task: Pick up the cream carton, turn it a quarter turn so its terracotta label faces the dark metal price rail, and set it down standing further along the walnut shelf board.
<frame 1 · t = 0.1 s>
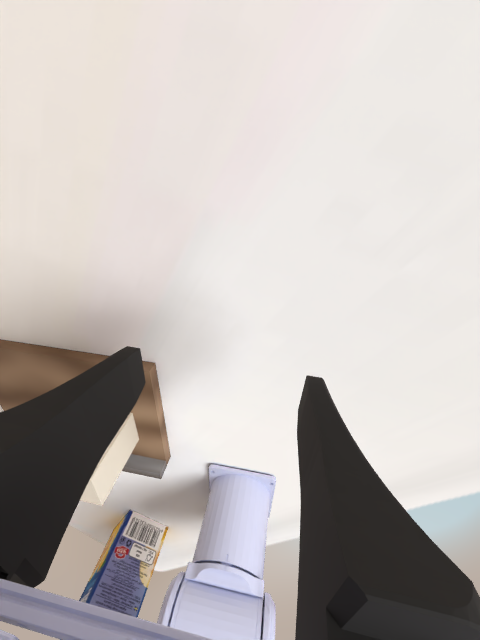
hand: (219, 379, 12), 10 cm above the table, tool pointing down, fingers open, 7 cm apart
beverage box: (140, 527, 48), on the table
shelf board: (80, 401, 32), on the table
carton: (117, 423, 31), point 1 cm above the table, touching shelf board
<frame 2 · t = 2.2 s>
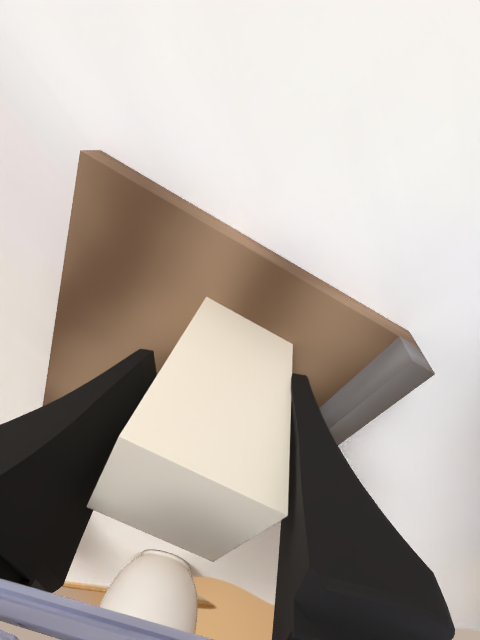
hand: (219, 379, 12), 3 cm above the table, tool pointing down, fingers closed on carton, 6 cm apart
lidded jar: (166, 559, 34), on the table
shelf board: (182, 386, 17), on the table
carton: (228, 353, 13), point 1 cm above the table, touching gripper, shelf board
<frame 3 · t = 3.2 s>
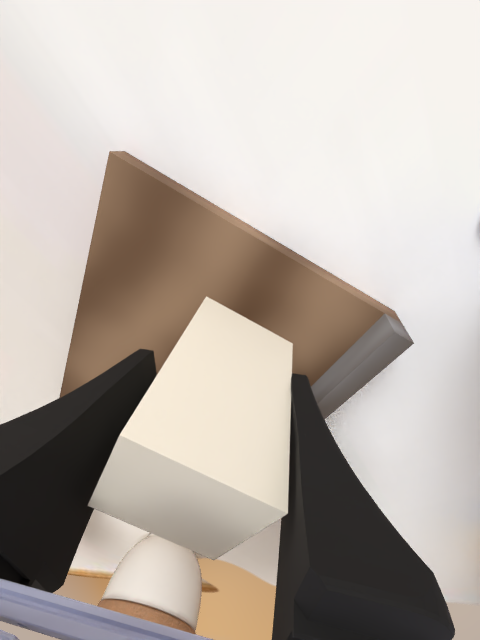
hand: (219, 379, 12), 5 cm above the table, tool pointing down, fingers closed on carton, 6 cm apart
lidded jar: (171, 541, 35), on the table
shelf board: (191, 366, 19), on the table
carton: (228, 352, 14), point 3 cm above the table, touching gripper
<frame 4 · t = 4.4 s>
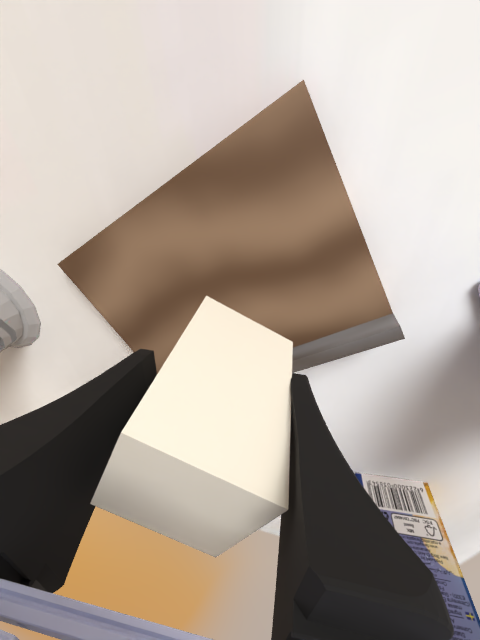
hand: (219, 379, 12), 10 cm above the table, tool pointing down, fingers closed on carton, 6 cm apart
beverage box: (379, 502, 32), on the table
shelf board: (220, 285, 21), on the table
carton: (229, 351, 14), point 8 cm above the table, touching gripper
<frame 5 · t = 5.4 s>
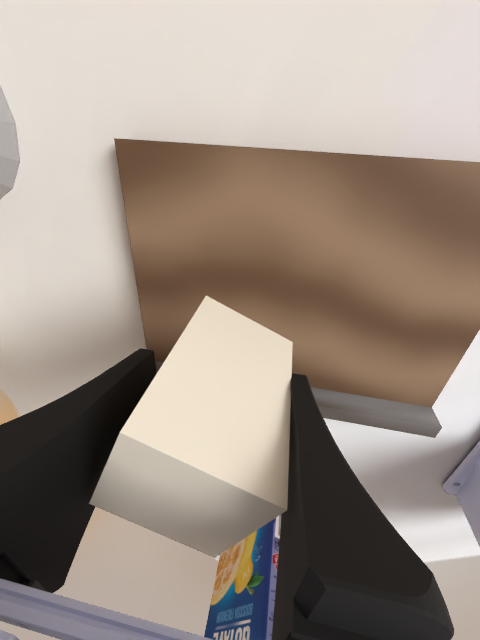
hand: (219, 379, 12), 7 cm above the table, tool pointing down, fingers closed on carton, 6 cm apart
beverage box: (271, 524, 34), on the table
shelf board: (296, 292, 17), on the table
carton: (229, 351, 14), point 6 cm above the table, touching gripper
when the fingers open (4 cm above the table, at t = 6.5 s): carton drops 1 cm, resting on shelf board.
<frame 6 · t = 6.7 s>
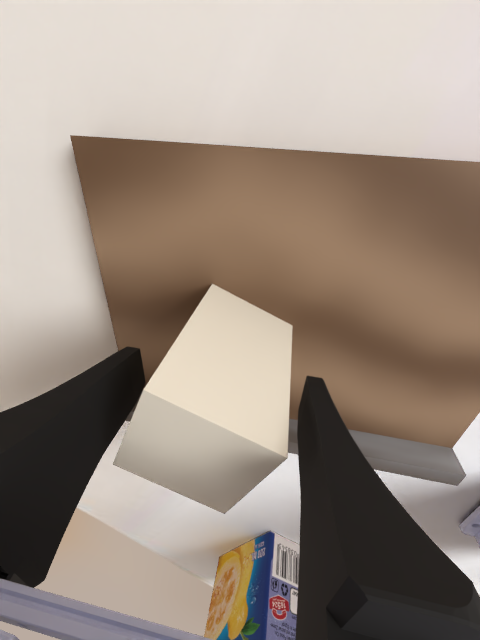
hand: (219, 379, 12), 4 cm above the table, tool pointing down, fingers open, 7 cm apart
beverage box: (268, 554, 31), on the table
shelf board: (295, 317, 15), on the table
carton: (234, 336, 15), point 1 cm above the table, touching shelf board
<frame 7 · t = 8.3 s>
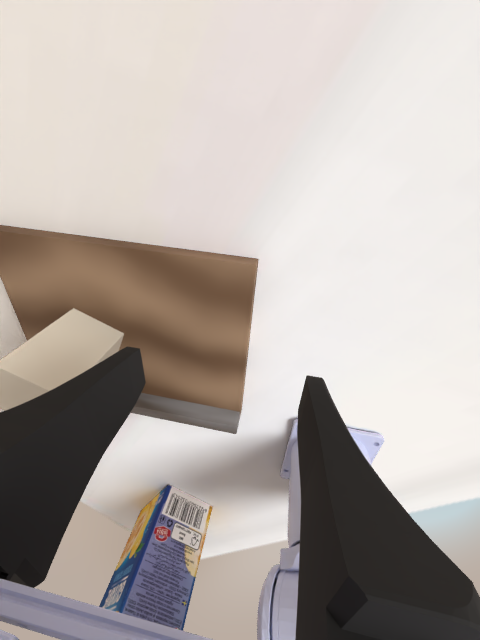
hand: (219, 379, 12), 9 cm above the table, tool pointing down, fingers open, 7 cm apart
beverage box: (175, 506, 40), on the table
shelf board: (133, 327, 24), on the table
carton: (94, 339, 24), point 1 cm above the table, touching shelf board
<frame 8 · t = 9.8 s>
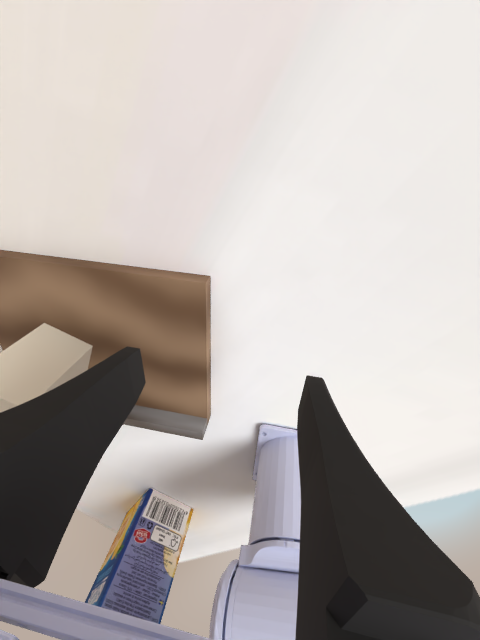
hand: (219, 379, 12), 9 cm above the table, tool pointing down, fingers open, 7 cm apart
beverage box: (159, 509, 42), on the table
shelf board: (102, 340, 25), on the table
carton: (66, 351, 25), point 1 cm above the table, touching shelf board
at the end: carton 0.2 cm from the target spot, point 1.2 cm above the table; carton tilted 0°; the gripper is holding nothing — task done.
